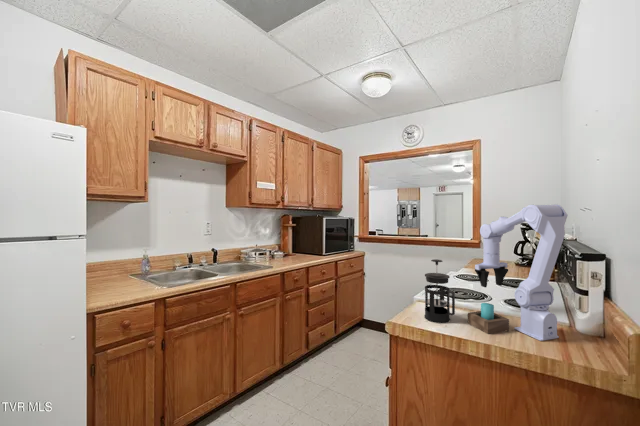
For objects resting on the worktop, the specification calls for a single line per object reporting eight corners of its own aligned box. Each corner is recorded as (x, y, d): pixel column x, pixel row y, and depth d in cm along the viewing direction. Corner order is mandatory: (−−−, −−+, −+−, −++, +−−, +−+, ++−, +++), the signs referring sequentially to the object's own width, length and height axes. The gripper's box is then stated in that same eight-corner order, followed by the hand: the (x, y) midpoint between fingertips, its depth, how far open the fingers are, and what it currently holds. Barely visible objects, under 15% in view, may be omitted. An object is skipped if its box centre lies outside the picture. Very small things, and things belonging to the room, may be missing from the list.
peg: (496, 328, 99) (496, 306, 99) (486, 329, 99) (486, 307, 99) (487, 323, 103) (487, 302, 103) (478, 325, 103) (478, 303, 102)
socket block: (509, 330, 98) (509, 319, 98) (487, 333, 95) (487, 322, 95) (487, 320, 106) (487, 310, 106) (467, 323, 104) (467, 312, 104)
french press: (418, 317, 110) (417, 259, 109) (429, 311, 116) (429, 256, 116) (448, 327, 101) (448, 263, 101) (459, 319, 108) (458, 260, 107)
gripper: (497, 250, 121) (497, 281, 121) (469, 252, 117) (469, 284, 118) (512, 253, 114) (512, 286, 115) (482, 255, 111) (482, 289, 111)
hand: (491, 285), depth 116 cm, fingers open, 7 cm apart
